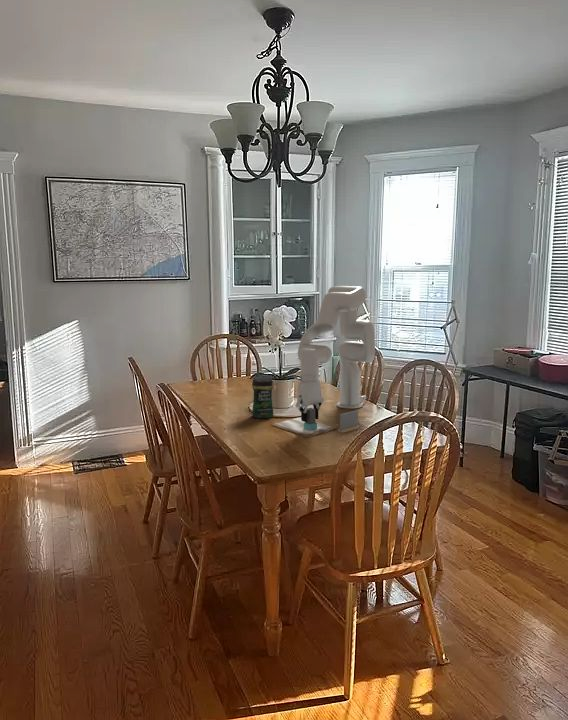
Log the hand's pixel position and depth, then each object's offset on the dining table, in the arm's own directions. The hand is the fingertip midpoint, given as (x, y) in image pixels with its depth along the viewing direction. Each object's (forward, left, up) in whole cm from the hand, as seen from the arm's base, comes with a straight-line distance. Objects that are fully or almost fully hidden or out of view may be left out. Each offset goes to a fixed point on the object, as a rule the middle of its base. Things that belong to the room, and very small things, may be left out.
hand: (309, 419), depth 244 cm
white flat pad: (-1, -5, -5) cm, 7 cm away
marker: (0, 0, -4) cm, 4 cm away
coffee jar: (+2, -30, -5) cm, 30 cm away
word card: (-13, +10, -5) cm, 17 cm away
